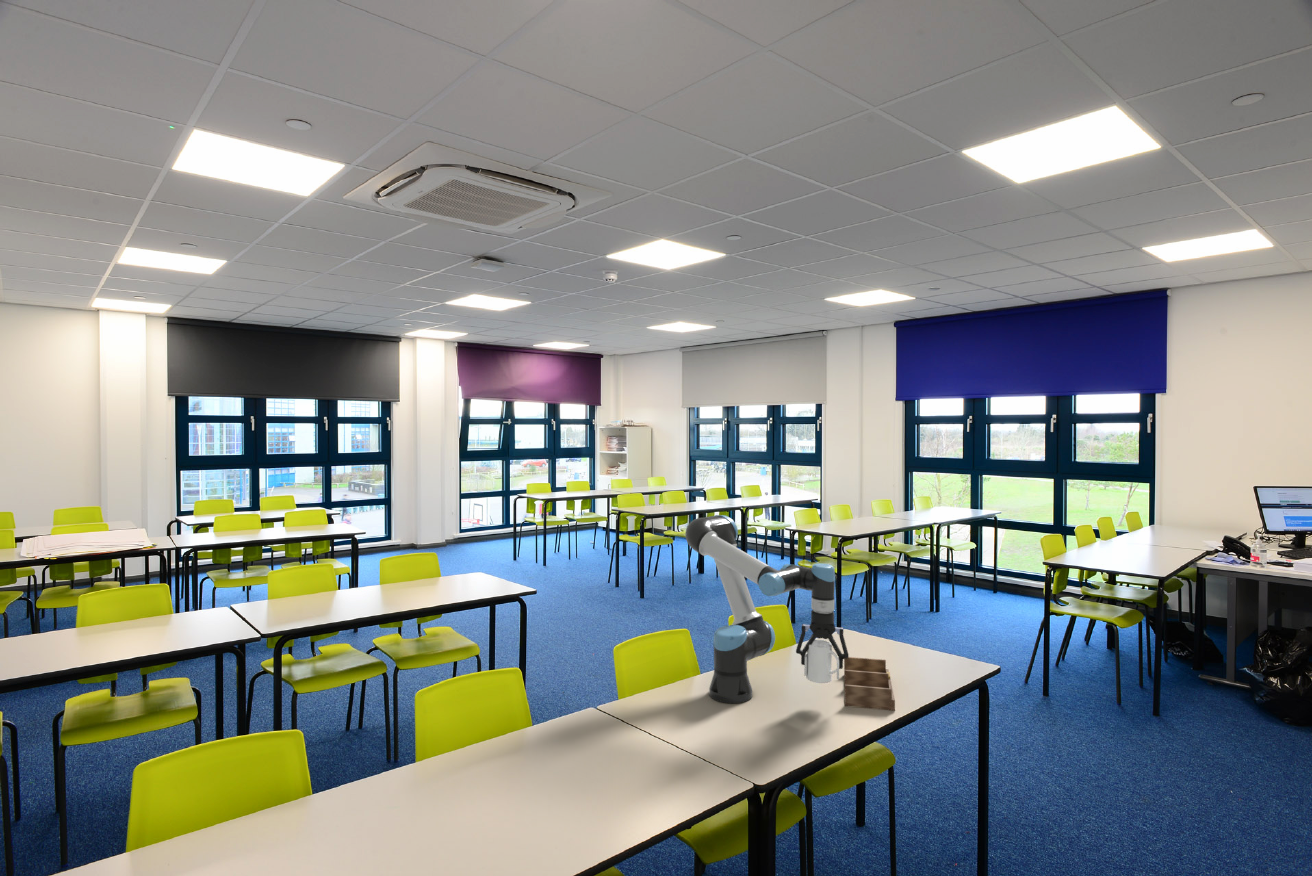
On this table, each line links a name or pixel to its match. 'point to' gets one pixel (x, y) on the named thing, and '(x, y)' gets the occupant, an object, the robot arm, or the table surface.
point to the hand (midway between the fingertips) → (821, 675)
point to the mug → (820, 662)
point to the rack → (868, 684)
